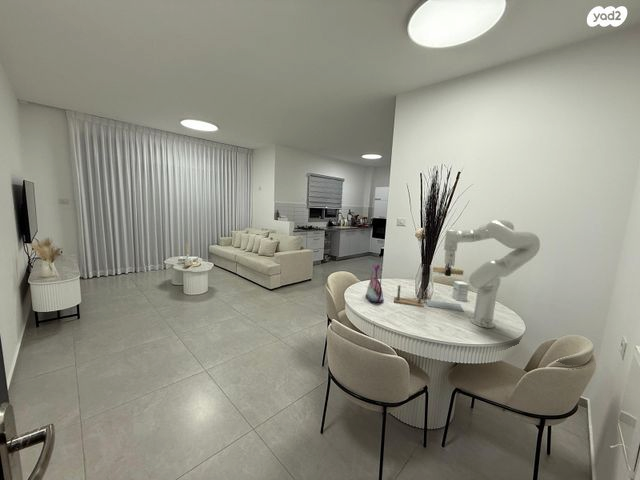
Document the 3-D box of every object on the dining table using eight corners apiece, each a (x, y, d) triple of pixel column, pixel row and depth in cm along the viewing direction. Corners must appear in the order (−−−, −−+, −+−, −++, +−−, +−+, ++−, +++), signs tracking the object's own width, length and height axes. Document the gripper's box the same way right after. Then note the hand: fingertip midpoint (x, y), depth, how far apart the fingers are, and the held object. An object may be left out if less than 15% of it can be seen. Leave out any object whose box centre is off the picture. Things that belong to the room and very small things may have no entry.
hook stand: (423, 306, 178) (425, 292, 177) (394, 302, 184) (395, 288, 182) (422, 301, 188) (424, 287, 186) (394, 297, 193) (395, 284, 192)
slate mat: (463, 311, 173) (463, 310, 173) (427, 306, 179) (427, 305, 179) (459, 305, 185) (460, 304, 185) (425, 300, 191) (426, 299, 191)
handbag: (363, 294, 198) (365, 261, 195) (376, 294, 200) (378, 261, 196) (372, 305, 177) (375, 268, 174) (386, 305, 179) (389, 268, 175)
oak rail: (462, 275, 175) (463, 270, 174) (433, 271, 180) (433, 267, 179) (462, 274, 178) (462, 269, 177) (432, 270, 183) (433, 266, 182)
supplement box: (451, 297, 200) (453, 280, 198) (461, 297, 200) (463, 281, 198) (456, 300, 193) (458, 283, 191) (467, 301, 193) (469, 284, 191)
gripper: (459, 250, 167) (455, 279, 170) (454, 246, 183) (451, 272, 186) (446, 249, 170) (443, 277, 172) (442, 245, 185) (439, 271, 188)
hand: (447, 274), depth 179 cm, fingers closed on oak rail, 3 cm apart
